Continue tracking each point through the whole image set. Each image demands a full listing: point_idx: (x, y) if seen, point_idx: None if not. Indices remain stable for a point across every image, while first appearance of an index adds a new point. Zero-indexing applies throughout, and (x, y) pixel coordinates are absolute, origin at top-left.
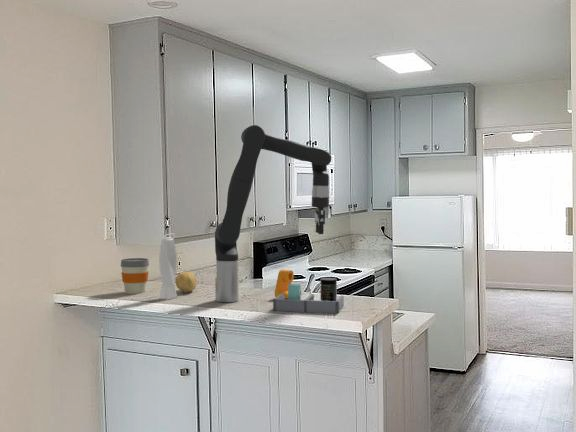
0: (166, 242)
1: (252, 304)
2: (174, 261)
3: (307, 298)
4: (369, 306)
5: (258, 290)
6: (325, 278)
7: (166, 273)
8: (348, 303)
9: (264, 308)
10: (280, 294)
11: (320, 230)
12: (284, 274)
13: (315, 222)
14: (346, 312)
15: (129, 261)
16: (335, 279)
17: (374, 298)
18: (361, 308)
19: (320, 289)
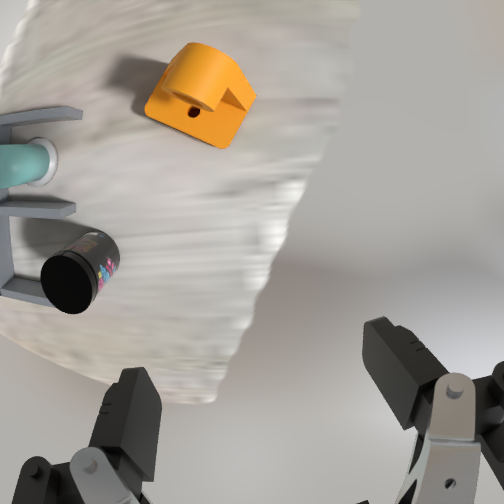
0: None
1: (77, 36)
2: None
3: (6, 210)
4: (102, 353)
5: (331, 10)
6: (72, 274)
7: None
8: (124, 308)
9: (28, 87)
10: (47, 110)
11: (106, 411)
12: (169, 72)
13: (452, 391)
14: None
15: None
16: (63, 309)
17: (216, 369)
18: (74, 335)
19: (72, 243)
